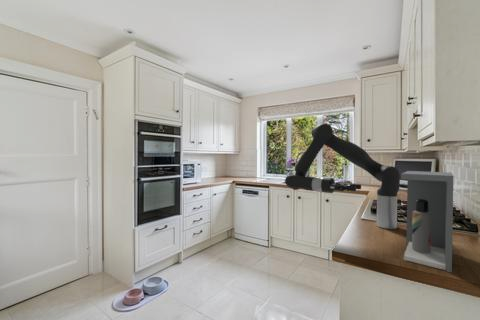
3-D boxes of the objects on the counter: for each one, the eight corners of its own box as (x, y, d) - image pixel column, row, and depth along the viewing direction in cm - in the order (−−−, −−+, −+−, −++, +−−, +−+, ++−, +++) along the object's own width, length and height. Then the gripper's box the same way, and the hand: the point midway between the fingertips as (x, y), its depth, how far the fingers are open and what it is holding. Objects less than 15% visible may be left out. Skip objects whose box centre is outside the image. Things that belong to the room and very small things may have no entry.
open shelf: (406, 242, 101) (408, 171, 100) (449, 251, 92) (451, 172, 91) (400, 259, 84) (401, 173, 84) (451, 272, 75) (453, 175, 74)
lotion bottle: (430, 250, 89) (431, 199, 89) (431, 255, 85) (431, 201, 84) (412, 246, 93) (412, 197, 92) (412, 251, 88) (412, 199, 88)
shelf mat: (409, 245, 98) (409, 241, 98) (444, 252, 91) (444, 248, 91) (403, 259, 84) (403, 255, 84) (445, 270, 76) (445, 265, 76)
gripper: (317, 178, 109) (354, 180, 98) (328, 176, 119) (362, 178, 109) (317, 193, 109) (353, 198, 98) (328, 190, 119) (362, 194, 109)
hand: (358, 187), depth 103 cm, fingers open, 8 cm apart
